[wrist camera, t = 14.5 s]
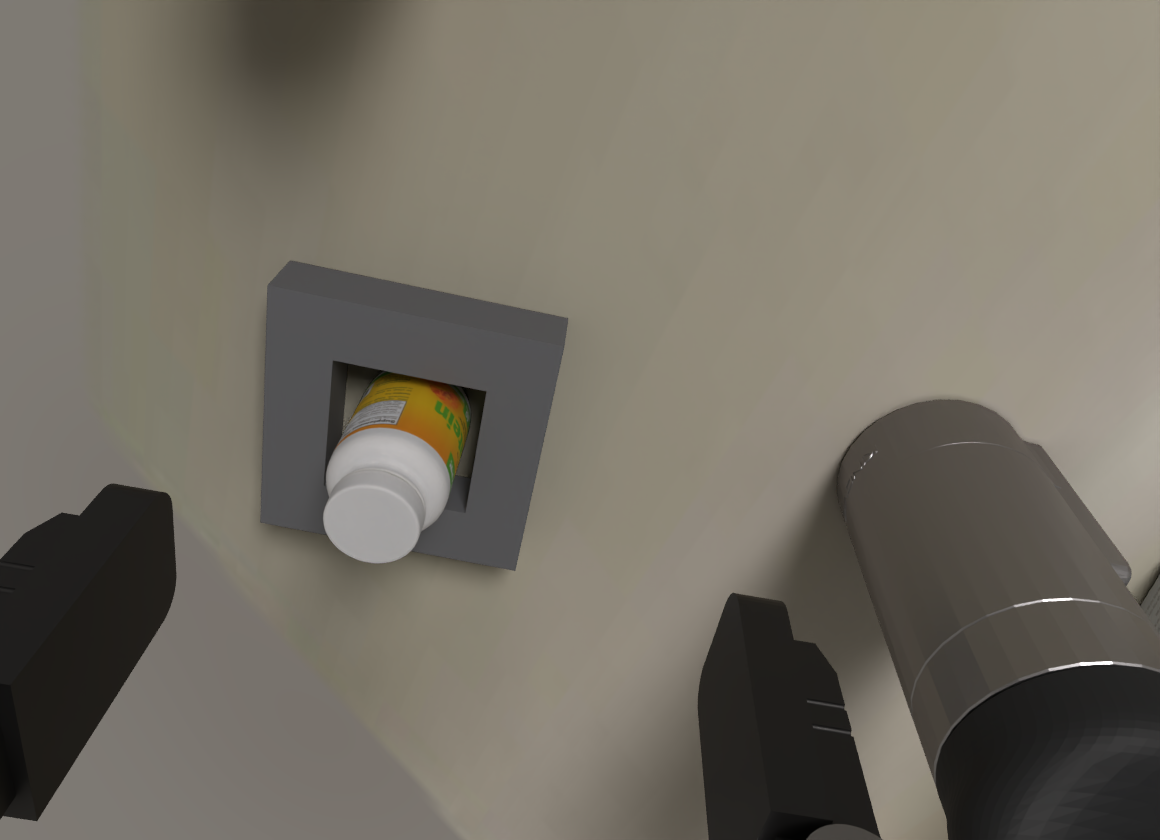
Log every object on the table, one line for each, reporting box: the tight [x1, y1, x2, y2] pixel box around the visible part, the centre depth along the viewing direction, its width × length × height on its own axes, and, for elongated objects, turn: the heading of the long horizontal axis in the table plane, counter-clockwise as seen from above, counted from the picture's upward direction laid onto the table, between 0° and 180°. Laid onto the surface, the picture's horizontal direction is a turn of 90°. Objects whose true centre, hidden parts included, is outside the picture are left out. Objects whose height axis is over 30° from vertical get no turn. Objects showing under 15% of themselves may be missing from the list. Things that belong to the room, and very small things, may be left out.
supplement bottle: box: [323, 371, 471, 563], centre depth 41 cm, size 5×5×10 cm
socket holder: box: [260, 261, 568, 571], centre depth 44 cm, size 13×13×3 cm
